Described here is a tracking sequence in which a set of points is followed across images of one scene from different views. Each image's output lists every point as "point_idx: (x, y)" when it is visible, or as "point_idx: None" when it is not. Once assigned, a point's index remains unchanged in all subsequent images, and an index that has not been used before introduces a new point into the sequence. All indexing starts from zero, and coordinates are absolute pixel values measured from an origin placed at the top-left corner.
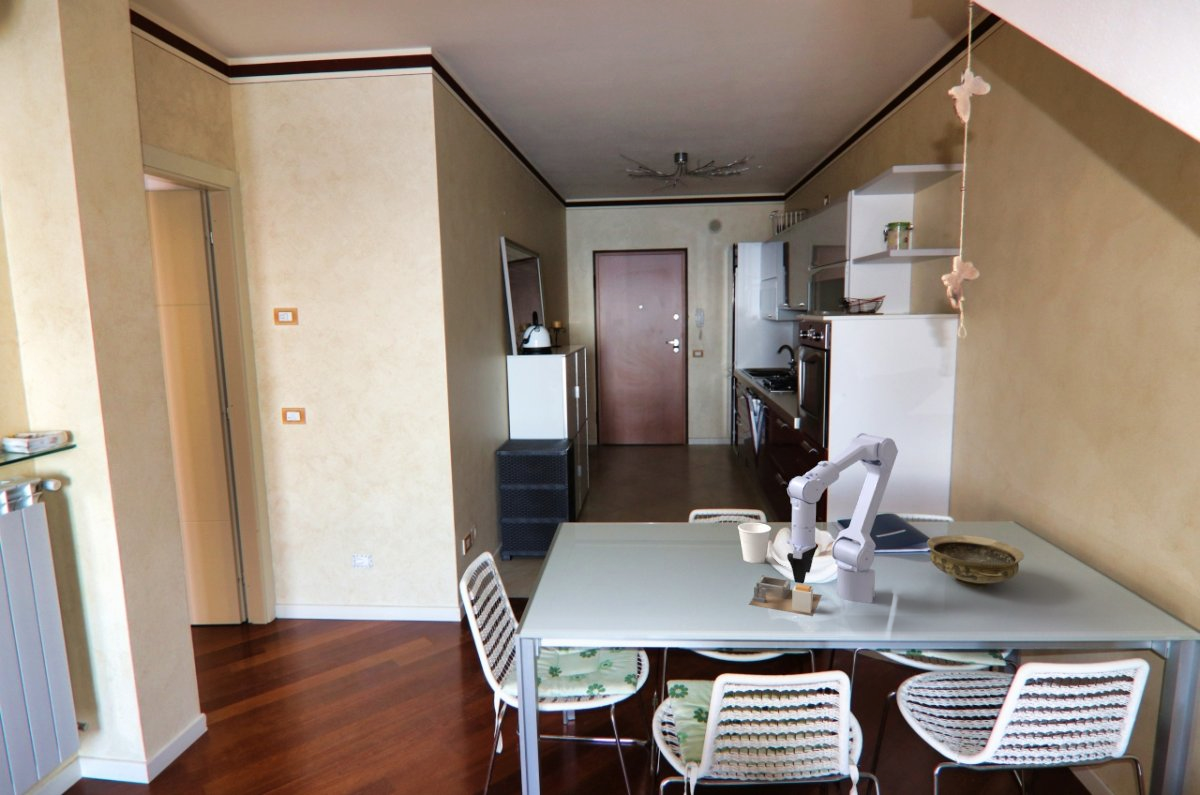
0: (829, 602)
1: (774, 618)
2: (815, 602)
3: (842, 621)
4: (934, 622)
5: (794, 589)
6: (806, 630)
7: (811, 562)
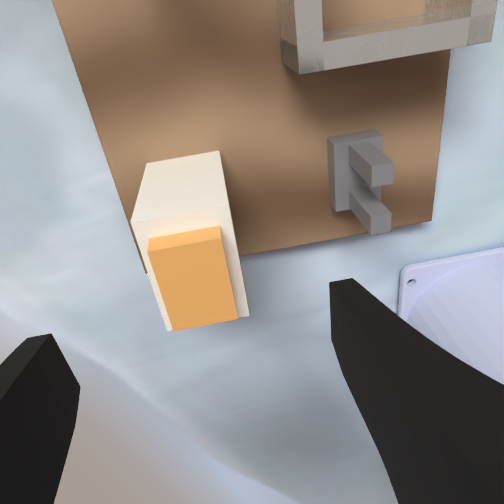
0: (389, 253)
1: (6, 90)
2: (320, 228)
3: (218, 350)
4: (361, 496)
5: (155, 229)
6: (17, 281)
7: (374, 440)
